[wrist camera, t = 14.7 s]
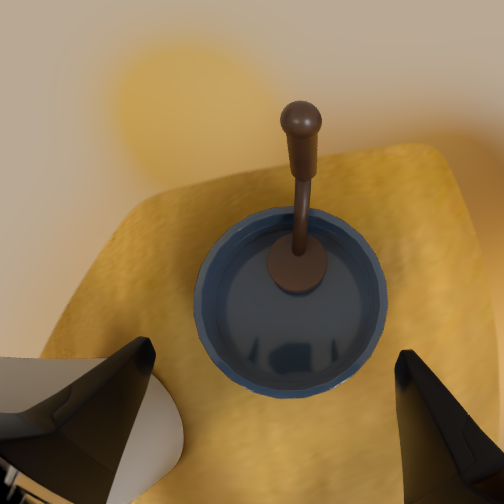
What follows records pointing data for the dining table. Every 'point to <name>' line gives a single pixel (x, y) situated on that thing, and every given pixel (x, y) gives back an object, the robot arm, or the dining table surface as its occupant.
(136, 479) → the cylinder vase
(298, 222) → the ladle
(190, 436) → the dining table surface
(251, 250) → the bowl
